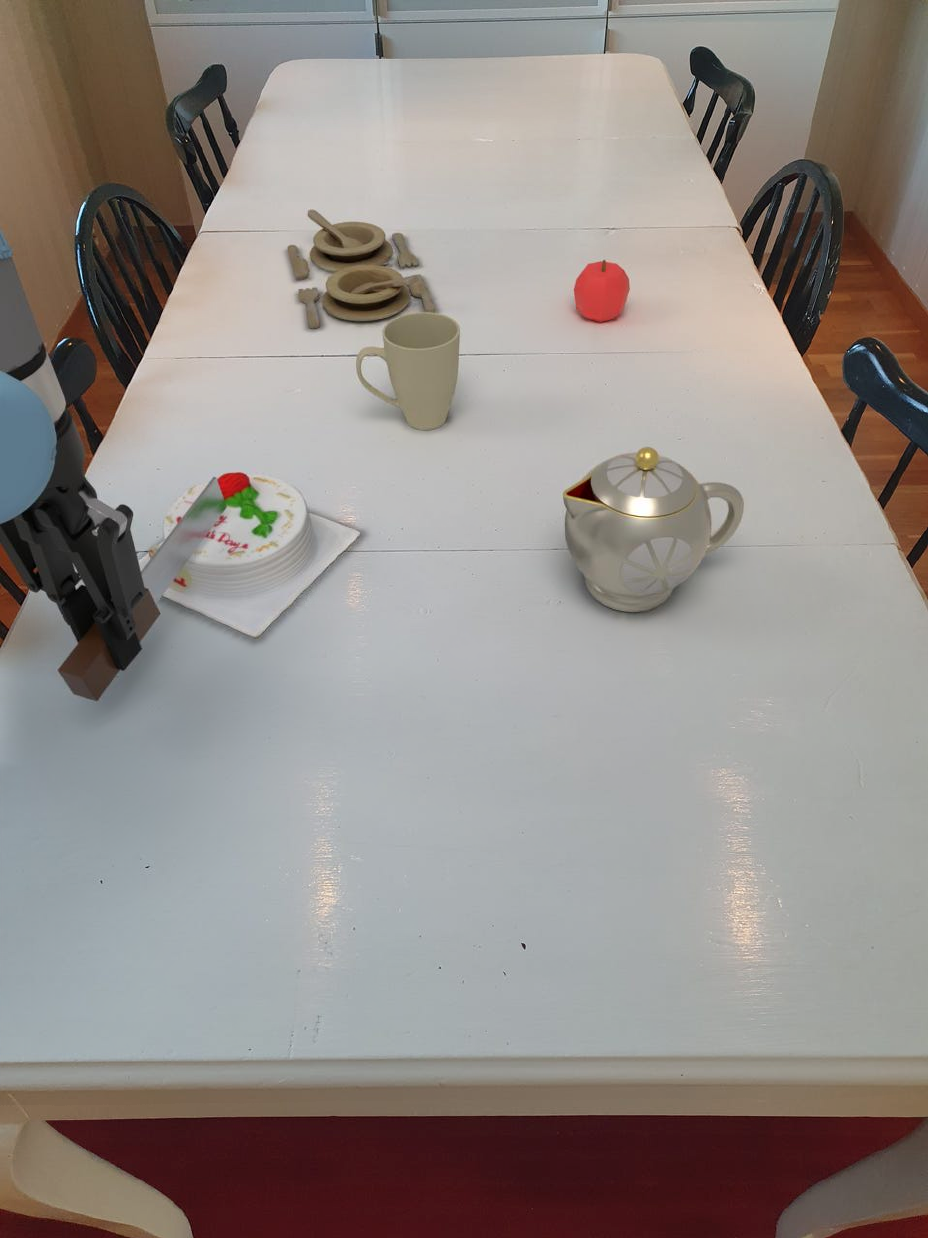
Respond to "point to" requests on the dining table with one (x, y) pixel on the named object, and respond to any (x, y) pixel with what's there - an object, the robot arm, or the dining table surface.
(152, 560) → the knife
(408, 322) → the mug
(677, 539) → the teapot
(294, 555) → the cake
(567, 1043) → the dining table surface
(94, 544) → the robot arm
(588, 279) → the apple
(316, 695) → the dining table surface
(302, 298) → the tableware set
